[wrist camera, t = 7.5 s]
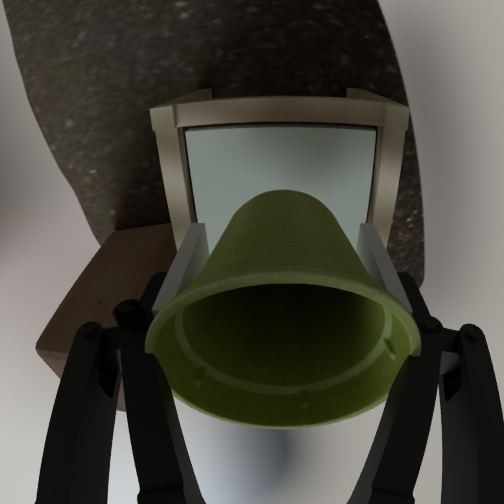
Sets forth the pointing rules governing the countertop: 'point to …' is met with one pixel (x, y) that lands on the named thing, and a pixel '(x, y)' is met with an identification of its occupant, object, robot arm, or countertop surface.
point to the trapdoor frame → (280, 109)
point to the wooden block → (107, 288)
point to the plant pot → (283, 323)
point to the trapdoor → (280, 169)
